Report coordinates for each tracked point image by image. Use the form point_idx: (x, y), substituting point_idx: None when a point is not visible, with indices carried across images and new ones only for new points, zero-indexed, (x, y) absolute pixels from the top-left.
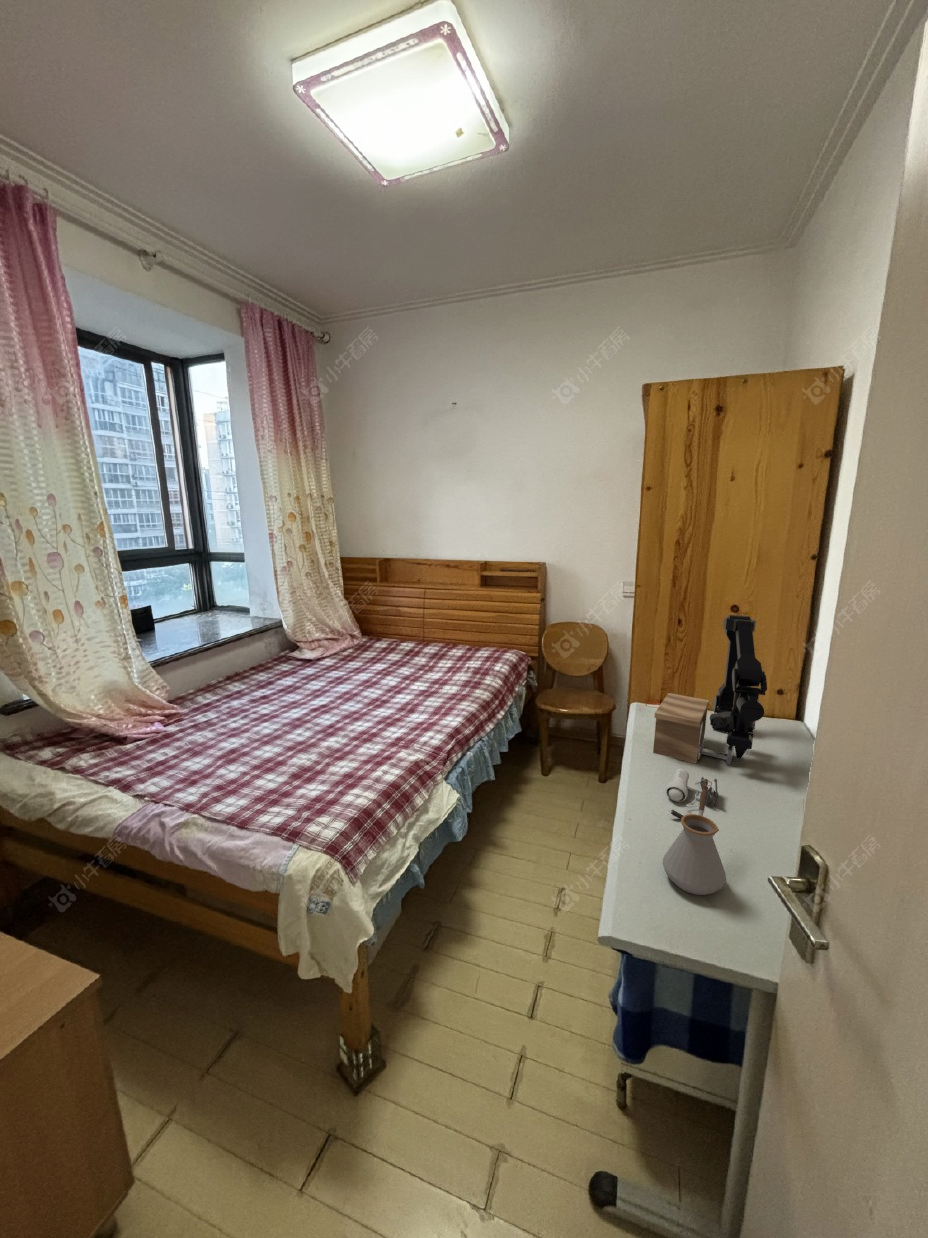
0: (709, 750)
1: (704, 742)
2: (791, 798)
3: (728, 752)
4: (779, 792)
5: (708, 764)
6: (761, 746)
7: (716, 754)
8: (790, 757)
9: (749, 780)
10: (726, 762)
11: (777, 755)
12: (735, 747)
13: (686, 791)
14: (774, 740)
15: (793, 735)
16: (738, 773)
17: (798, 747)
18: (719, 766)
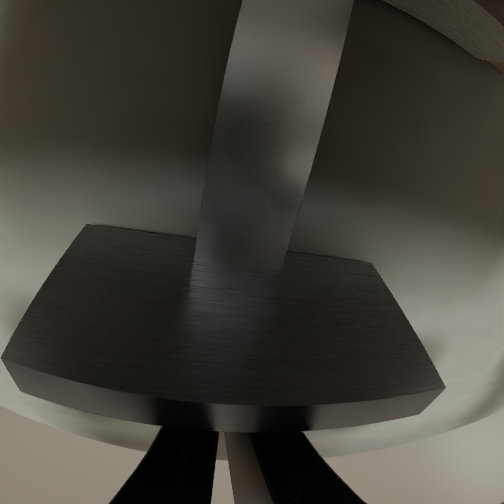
0: (319, 43)
1: (502, 56)
2: (10, 407)
3: (20, 335)
4: (14, 395)
5: (44, 57)
6: (457, 379)
7: (217, 128)
8: (363, 442)
9: (5, 331)
10: (79, 236)
11: (378, 423)
12: (150, 447)
13: None
14: (481, 392)
15: (488, 408)
16: (33, 293)
17: (429, 433)
18: (50, 159)
